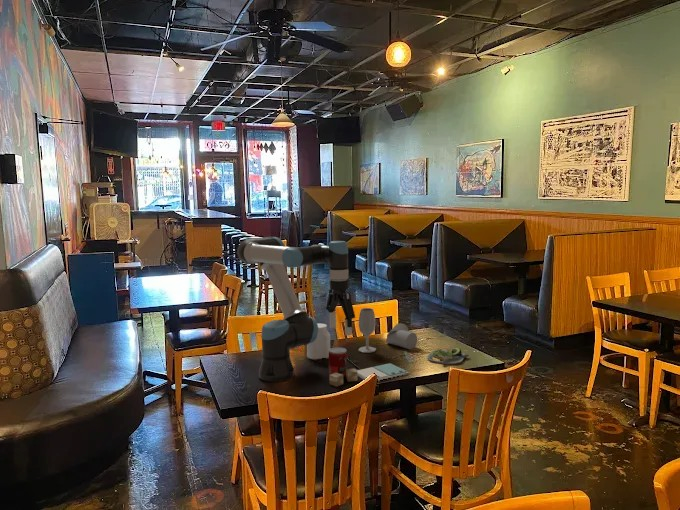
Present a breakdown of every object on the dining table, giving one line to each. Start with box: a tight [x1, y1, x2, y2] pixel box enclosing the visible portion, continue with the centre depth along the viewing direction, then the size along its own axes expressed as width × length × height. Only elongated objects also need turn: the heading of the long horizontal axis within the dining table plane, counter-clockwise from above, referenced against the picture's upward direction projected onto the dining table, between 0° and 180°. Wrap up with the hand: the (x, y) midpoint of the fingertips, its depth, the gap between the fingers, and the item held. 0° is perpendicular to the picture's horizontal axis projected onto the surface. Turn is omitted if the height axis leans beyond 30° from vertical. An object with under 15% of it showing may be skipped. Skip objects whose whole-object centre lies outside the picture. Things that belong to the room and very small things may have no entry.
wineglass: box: [357, 307, 377, 354], centre depth 251 cm, size 9×9×21 cm
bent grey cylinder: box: [385, 322, 418, 350], centre depth 263 cm, size 18×11×20 cm
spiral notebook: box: [356, 362, 410, 382], centre depth 220 cm, size 20×14×1 cm
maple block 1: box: [328, 373, 344, 388], centre depth 208 cm, size 4×4×4 cm
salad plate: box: [426, 346, 469, 365], centre depth 237 cm, size 19×18×5 cm
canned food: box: [328, 346, 348, 378], centre depth 219 cm, size 8×8×11 cm
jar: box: [306, 323, 331, 360], centre depth 244 cm, size 12×10×15 cm
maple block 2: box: [345, 368, 358, 382], centre depth 213 cm, size 4×4×4 cm
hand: (340, 331), depth 207 cm, fingers open, 13 cm apart
